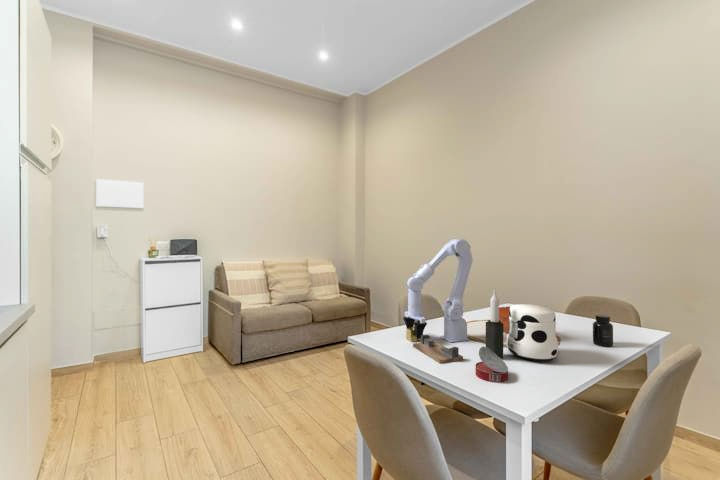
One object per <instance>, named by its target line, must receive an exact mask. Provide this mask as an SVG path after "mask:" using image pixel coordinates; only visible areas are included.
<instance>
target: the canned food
mask: <svg viewBox="0 0 720 480" xmlns="http://www.w3.org/2000/svg"><path fill="white" fill-rule="evenodd" d="M478 357H479V359H480V360H481V361H480V362H476V364H475V376H476V377H477V378H479V380H482V381H485V382H489V383H493V384H494V383H495V384H497V383H499V384H500V383H505V382H507V381H508V380H509V366H507V364H506V362H504V361H503V358H499V357H498V356H497V355H496V354H495V353H494V352H492V351H491V350H490V349H489V348H488V347H486V346H480V348H479V350H478Z"/></svg>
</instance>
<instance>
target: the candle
mask: <svg viewBox="0 0 720 480" xmlns="http://www.w3.org/2000/svg"><path fill="white" fill-rule="evenodd" d="M496 292H497V291H496V290H493V292H492V293H493V294H492V296H491V298H489V299H490V300H489V302H490V306H489V307H490V309H489V311H490V312H489V313H490V314H489V316H490V319H488V320H487V321H485V347H488V348H489V349H490V350H491V351H492V352H494V353H495V354H496V355H497V356H498V357H499V358H501V359H504V332H503V330H504V324H503V323H501V321H499V307H500V299H499V298H498V295H497V293H496Z"/></svg>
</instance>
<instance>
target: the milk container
mask: <svg viewBox="0 0 720 480" xmlns="http://www.w3.org/2000/svg"><path fill="white" fill-rule="evenodd" d="M509 315H510V316H509V331H508V333H507V335H506V347H507V349H508V351H509V352H510V353H511V354H513V355H514V356H516V357H519V358H522V359H525V360H530V361H539V362H541V361H551V360H553V359H555V358H556V357H557V355H558V352H559V342H558V339H557V335H556V327H557V326H556V323H557V320H556V317H557V316H556V311H555V309H554V308H552V307H548V306H546V305H545V306H543V305H540V304H539V305H538V304H530V303H529V304H525V303H524V304H523V303H522V304H520V303H519V304H518V303H517V304H516V303H515V304H512V305H510V312H509Z"/></svg>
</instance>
